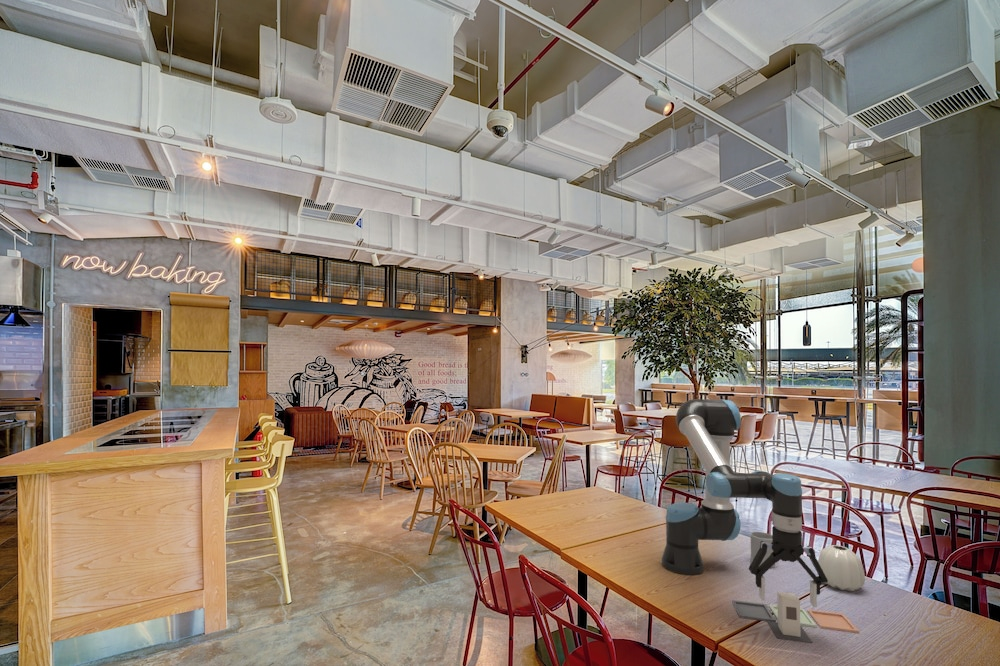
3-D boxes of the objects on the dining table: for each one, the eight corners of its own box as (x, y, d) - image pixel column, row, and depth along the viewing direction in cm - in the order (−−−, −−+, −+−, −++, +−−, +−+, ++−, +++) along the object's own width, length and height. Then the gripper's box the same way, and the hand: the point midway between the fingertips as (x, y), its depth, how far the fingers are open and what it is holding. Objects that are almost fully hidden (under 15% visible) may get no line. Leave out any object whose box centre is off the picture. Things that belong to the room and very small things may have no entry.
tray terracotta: (820, 629, 141) (820, 625, 141) (807, 612, 151) (807, 609, 151) (859, 634, 139) (859, 631, 139) (843, 617, 149) (843, 613, 149)
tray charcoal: (739, 618, 147) (739, 615, 147) (732, 603, 156) (732, 600, 156) (775, 623, 144) (775, 620, 144) (765, 607, 154) (765, 604, 154)
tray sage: (779, 624, 144) (779, 620, 144) (769, 607, 154) (769, 604, 154) (816, 628, 142) (816, 625, 142) (803, 612, 151) (803, 608, 151)
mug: (766, 569, 183) (766, 540, 184) (746, 561, 190) (745, 533, 191) (785, 564, 189) (784, 535, 189) (764, 556, 196) (763, 529, 197)
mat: (777, 639, 136) (777, 637, 136) (767, 623, 144) (767, 621, 144) (812, 644, 133) (812, 642, 134) (800, 627, 142) (800, 625, 142)
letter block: (783, 634, 137) (782, 598, 138) (777, 626, 142) (777, 591, 142) (800, 637, 136) (799, 600, 137) (794, 628, 141) (794, 593, 141)
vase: (852, 598, 161) (850, 557, 162) (809, 581, 174) (808, 543, 174) (873, 590, 168) (872, 551, 168) (830, 574, 180) (829, 538, 181)
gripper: (744, 528, 140) (744, 601, 139) (840, 537, 134) (841, 614, 133) (737, 519, 147) (737, 589, 147) (829, 528, 142) (829, 601, 141)
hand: (787, 601), depth 140 cm, fingers open, 13 cm apart
